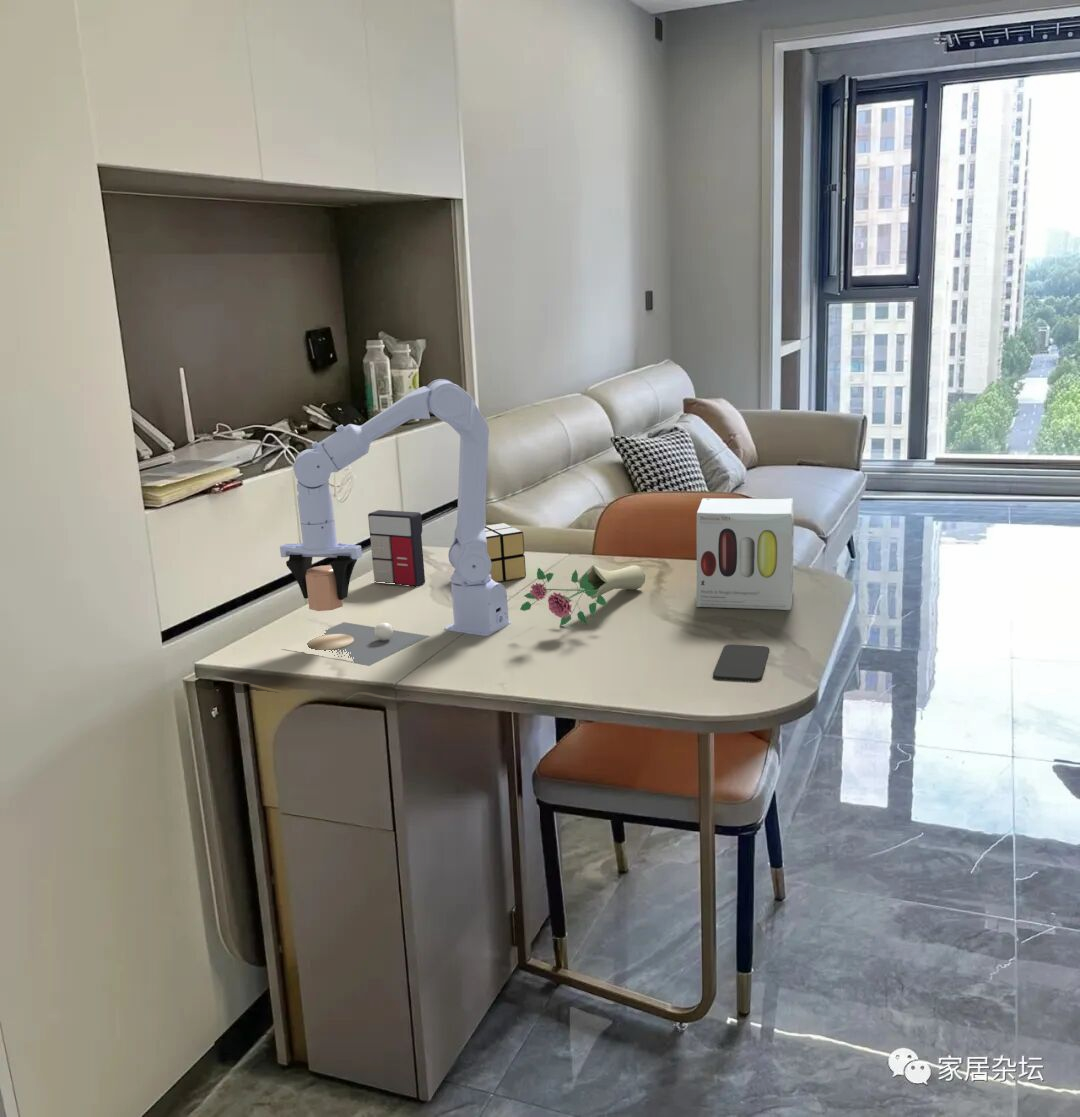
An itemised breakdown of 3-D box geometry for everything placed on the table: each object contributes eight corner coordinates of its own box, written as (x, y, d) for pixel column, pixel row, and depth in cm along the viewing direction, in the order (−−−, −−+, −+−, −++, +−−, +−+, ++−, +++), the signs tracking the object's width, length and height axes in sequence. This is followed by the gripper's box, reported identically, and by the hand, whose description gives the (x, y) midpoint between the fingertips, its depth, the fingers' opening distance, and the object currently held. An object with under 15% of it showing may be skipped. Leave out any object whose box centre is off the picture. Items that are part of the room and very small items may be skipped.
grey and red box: (372, 583, 225) (365, 514, 221) (384, 578, 229) (377, 509, 225) (415, 588, 220) (409, 516, 216) (427, 582, 224) (421, 512, 220)
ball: (397, 638, 188) (395, 621, 187) (385, 644, 185) (384, 626, 184) (383, 636, 190) (381, 619, 189) (371, 641, 187) (369, 624, 186)
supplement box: (695, 609, 196) (693, 512, 192) (702, 588, 209) (700, 497, 204) (792, 611, 192) (793, 512, 188) (793, 589, 205) (794, 496, 200)
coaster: (363, 639, 189) (363, 637, 189) (332, 653, 182) (331, 651, 182) (329, 633, 193) (329, 631, 193) (297, 647, 186) (297, 645, 186)
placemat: (429, 638, 188) (429, 635, 188) (369, 667, 175) (369, 665, 175) (344, 624, 199) (343, 622, 199) (281, 651, 186) (281, 649, 186)
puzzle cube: (464, 575, 228) (461, 529, 226) (507, 567, 232) (504, 522, 230) (482, 585, 219) (478, 538, 217) (526, 578, 223) (523, 531, 221)
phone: (770, 646, 174) (761, 678, 160) (770, 651, 174) (761, 684, 160) (724, 643, 176) (711, 675, 162) (724, 648, 176) (711, 681, 163)
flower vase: (646, 630, 210) (566, 648, 179) (593, 605, 215) (506, 619, 184) (666, 574, 207) (589, 582, 176) (612, 550, 213) (528, 555, 182)
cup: (349, 604, 186) (346, 567, 185) (324, 612, 182) (320, 575, 180) (328, 599, 190) (324, 563, 188) (303, 607, 186) (299, 571, 184)
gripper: (366, 516, 184) (374, 592, 187) (291, 515, 188) (299, 589, 191) (347, 525, 177) (355, 604, 181) (270, 524, 181) (279, 601, 185)
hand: (325, 597), depth 185 cm, fingers closed on cup, 6 cm apart
